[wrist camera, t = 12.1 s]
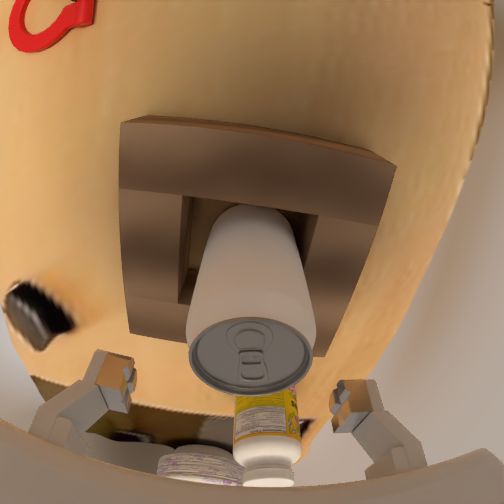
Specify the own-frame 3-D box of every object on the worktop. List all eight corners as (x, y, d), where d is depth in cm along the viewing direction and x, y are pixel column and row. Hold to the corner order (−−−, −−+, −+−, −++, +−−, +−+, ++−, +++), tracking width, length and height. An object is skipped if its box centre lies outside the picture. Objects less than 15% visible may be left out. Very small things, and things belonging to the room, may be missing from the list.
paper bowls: (262, 446, 42) (262, 488, 35) (230, 470, 49) (228, 504, 42) (170, 427, 39) (163, 472, 32) (155, 454, 46) (149, 489, 39)
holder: (146, 115, 19) (120, 122, 15) (370, 150, 20) (396, 166, 16) (144, 299, 26) (129, 333, 23) (316, 321, 28) (324, 357, 24)
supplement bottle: (287, 397, 34) (295, 492, 23) (233, 394, 34) (229, 492, 23) (299, 364, 31) (313, 474, 20) (238, 361, 30) (233, 474, 19)
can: (293, 198, 22) (329, 305, 11) (293, 273, 25) (315, 397, 15) (204, 203, 22) (163, 312, 12) (214, 276, 25) (194, 401, 15)
